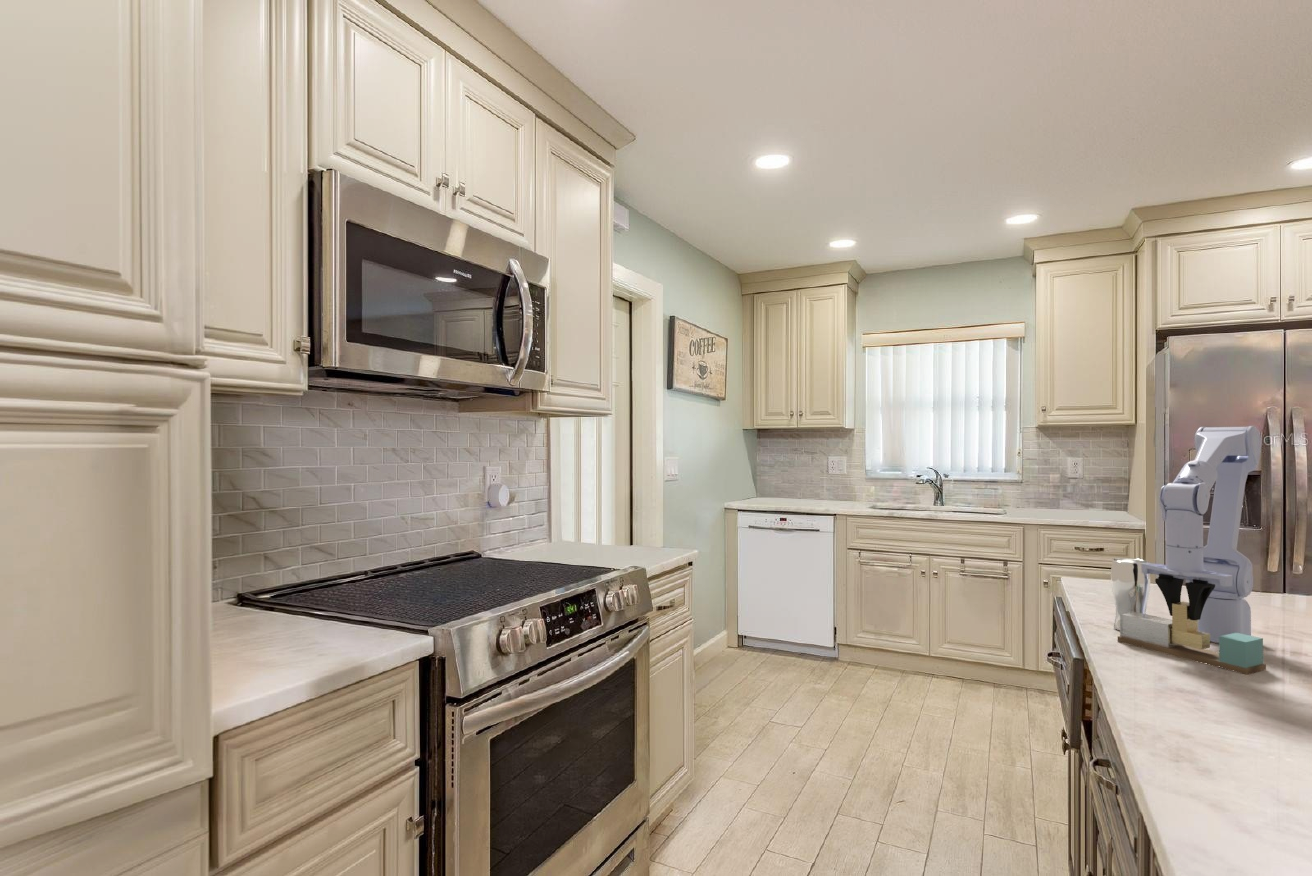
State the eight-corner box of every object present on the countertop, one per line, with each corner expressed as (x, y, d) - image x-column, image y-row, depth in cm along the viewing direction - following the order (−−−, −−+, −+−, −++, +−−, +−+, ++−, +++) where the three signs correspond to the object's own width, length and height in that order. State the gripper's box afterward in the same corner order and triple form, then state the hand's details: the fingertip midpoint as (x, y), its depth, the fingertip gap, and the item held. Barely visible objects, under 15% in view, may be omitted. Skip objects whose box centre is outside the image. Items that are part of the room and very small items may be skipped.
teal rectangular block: (1236, 657, 126) (1236, 632, 126) (1263, 663, 122) (1262, 638, 122) (1219, 661, 124) (1218, 636, 124) (1245, 668, 120) (1245, 642, 120)
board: (1135, 637, 142) (1135, 632, 142) (1265, 669, 122) (1265, 663, 122) (1117, 641, 140) (1117, 636, 140) (1247, 674, 120) (1247, 668, 120)
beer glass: (1157, 635, 144) (1156, 563, 144) (1120, 633, 145) (1119, 562, 145) (1140, 626, 151) (1140, 558, 151) (1105, 625, 152) (1105, 557, 152)
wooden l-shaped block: (1137, 630, 141) (1136, 592, 141) (1211, 647, 129) (1210, 606, 129) (1126, 632, 139) (1126, 594, 139) (1200, 649, 127) (1200, 608, 127)
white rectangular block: (1133, 633, 142) (1133, 611, 142) (1181, 645, 134) (1181, 621, 134) (1120, 636, 140) (1119, 613, 140) (1168, 648, 132) (1168, 624, 132)
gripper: (1131, 542, 136) (1132, 611, 136) (1216, 553, 123) (1217, 629, 123) (1153, 540, 139) (1153, 607, 139) (1238, 550, 126) (1239, 624, 126)
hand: (1185, 617), depth 131 cm, fingers open, 3 cm apart
